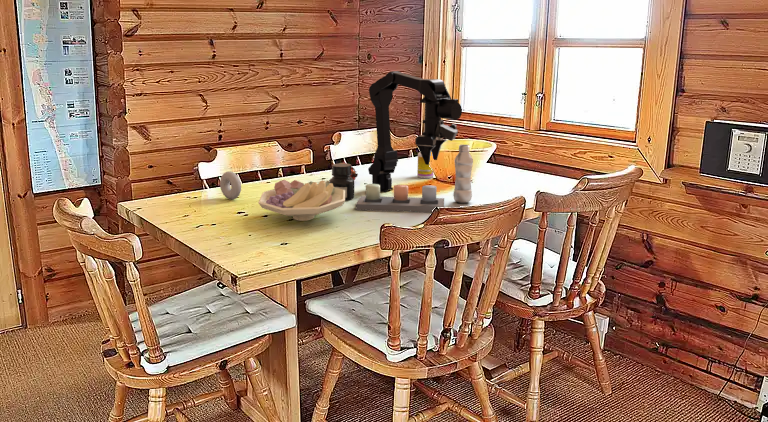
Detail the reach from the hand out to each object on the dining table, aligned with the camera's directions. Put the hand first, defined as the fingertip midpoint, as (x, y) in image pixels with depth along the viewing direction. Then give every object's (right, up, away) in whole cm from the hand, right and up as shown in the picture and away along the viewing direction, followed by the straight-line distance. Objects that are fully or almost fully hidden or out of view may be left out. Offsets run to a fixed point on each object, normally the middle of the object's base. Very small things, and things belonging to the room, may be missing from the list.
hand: (431, 162), depth 235 cm
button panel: (-11, -15, -5) cm, 19 cm away
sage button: (-20, -12, -5) cm, 24 cm away
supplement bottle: (+1, -3, +43) cm, 44 cm away
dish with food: (-42, -19, -20) cm, 50 cm away
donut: (-70, -13, +4) cm, 71 cm away
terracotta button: (-11, -13, -6) cm, 18 cm away
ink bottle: (-31, -13, +7) cm, 34 cm away
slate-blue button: (-1, -13, -7) cm, 15 cm away
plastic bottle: (+11, -14, +1) cm, 18 cm away
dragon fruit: (-32, -6, +33) cm, 46 cm away
